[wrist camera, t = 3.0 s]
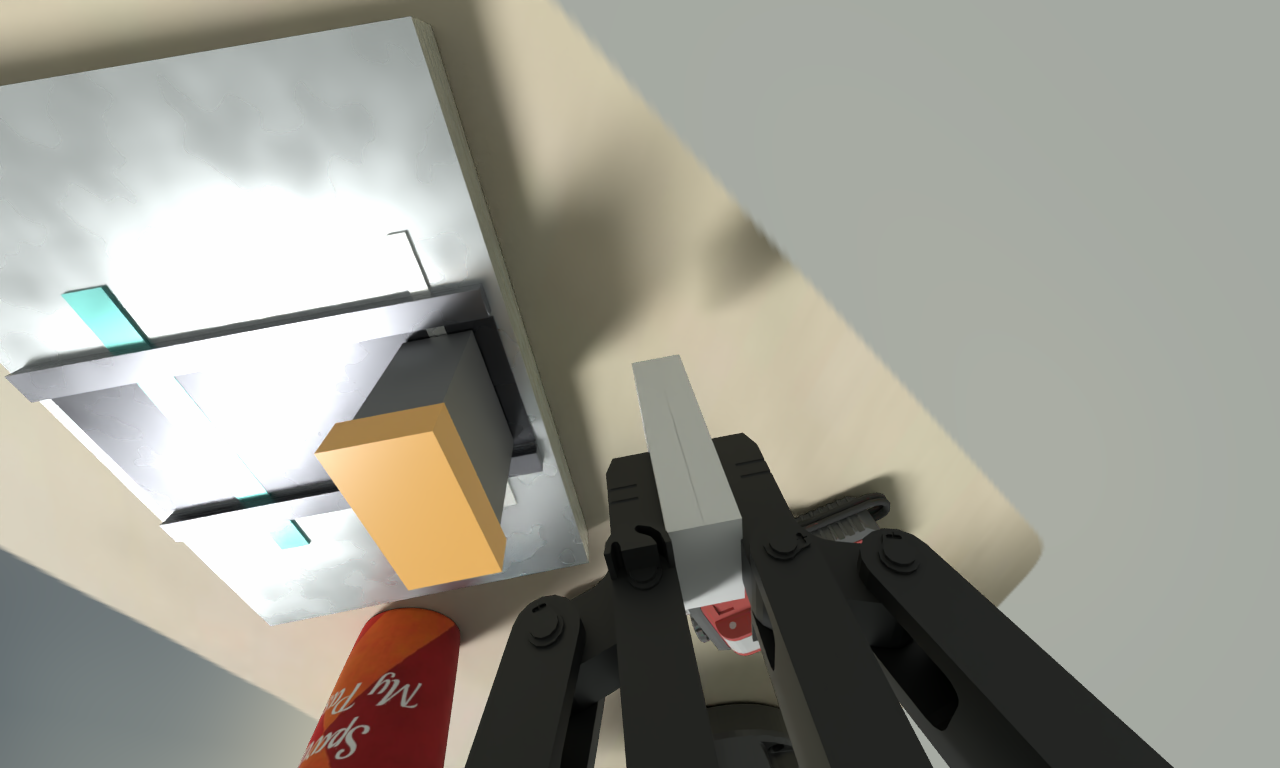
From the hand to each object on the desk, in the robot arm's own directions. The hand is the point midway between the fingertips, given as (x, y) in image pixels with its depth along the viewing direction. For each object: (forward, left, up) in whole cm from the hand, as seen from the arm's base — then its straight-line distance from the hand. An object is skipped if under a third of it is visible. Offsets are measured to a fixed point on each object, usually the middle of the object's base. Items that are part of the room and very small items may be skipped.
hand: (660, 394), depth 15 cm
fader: (0, +7, -3) cm, 8 cm away
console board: (0, +13, -5) cm, 14 cm away
